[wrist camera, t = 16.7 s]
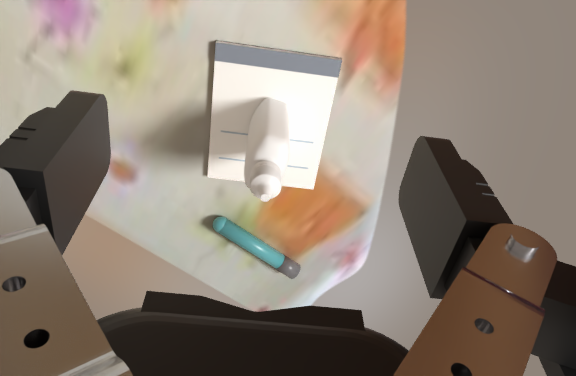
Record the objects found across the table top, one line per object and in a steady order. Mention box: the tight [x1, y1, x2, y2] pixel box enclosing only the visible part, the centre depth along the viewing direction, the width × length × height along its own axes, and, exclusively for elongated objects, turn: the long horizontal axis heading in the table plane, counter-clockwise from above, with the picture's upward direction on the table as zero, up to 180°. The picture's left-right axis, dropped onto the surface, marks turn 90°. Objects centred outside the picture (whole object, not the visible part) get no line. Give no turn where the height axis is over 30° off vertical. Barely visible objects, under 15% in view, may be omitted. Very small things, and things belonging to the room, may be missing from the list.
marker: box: [213, 216, 300, 279], centre depth 53 cm, size 12×2×2 cm, turn 49°
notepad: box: [207, 40, 342, 189], centre depth 45 cm, size 11×14×1 cm
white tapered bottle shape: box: [244, 98, 290, 202], centre depth 40 cm, size 4×6×12 cm
